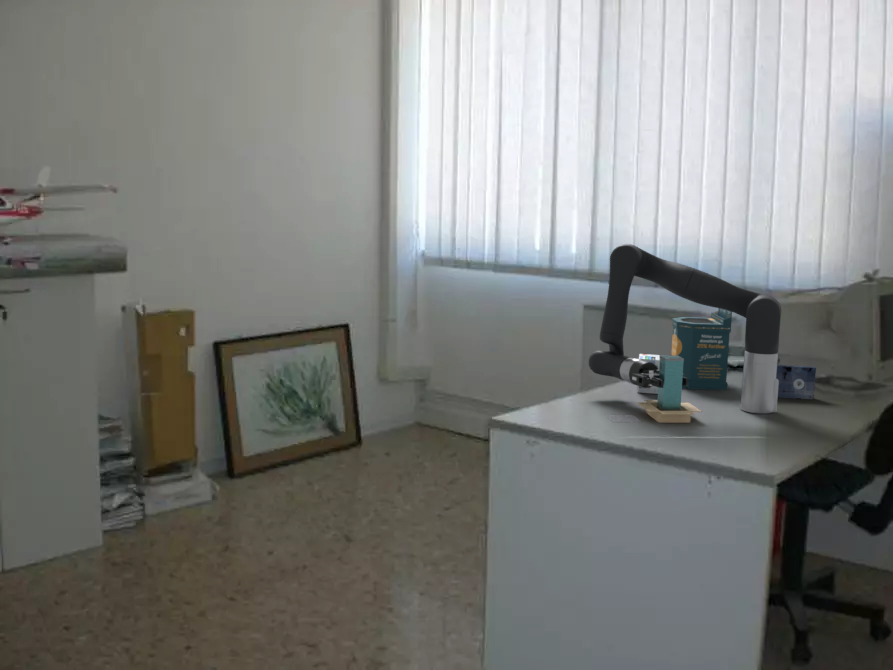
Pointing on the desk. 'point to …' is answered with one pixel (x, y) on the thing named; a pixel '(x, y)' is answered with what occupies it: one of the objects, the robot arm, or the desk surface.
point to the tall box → (670, 383)
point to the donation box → (703, 349)
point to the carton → (669, 412)
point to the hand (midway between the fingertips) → (674, 383)
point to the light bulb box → (656, 361)
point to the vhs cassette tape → (796, 381)
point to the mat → (623, 418)
